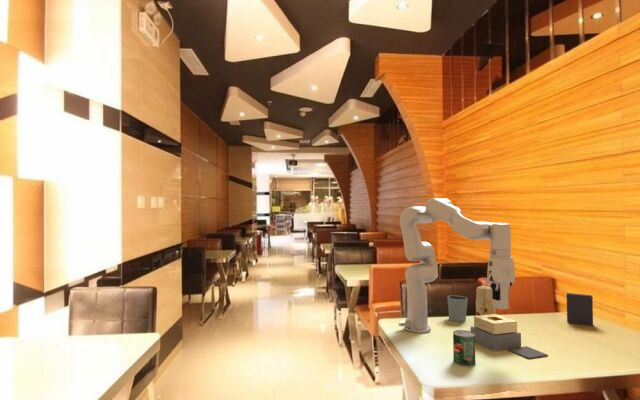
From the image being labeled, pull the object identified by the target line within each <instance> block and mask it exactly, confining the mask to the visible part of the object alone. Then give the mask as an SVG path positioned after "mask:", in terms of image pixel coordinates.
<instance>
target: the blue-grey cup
mask: <svg viewBox="0 0 640 400" xmlns="http://www.w3.org/2000/svg"><path fill="white" fill-rule="evenodd" d="M468 300H469V299H468V297H467V296H463V295H454V294H452V295H448V296H447V308H448V309H447V311H448V320H449V321H452V322H456V323H465V322H466V321H467V310H468V309H467V308H468Z"/></svg>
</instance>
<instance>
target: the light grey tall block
mask: <svg viewBox="0 0 640 400" xmlns="http://www.w3.org/2000/svg"><path fill="white" fill-rule="evenodd" d="M495 285H496V283H495ZM498 290H499V301H497V300H494V299H493V307H494V308H495V309H498V310H509V308H510V307H509V303H510V302H509V299H510V293H509V294H508V283H499V288H498Z"/></svg>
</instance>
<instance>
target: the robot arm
mask: <svg viewBox="0 0 640 400" xmlns="http://www.w3.org/2000/svg"><path fill="white" fill-rule="evenodd" d="M439 220H440V221H441V222H444V223H445V224H448V225H449V226H450V228H451V229H452V230H453V231H454V232H456V233H457V234H459V235H461V236H463V237H464V238H466V239H469V240H470V241H471V240H472V241H484V240H485V241H486V240H489V241H490V242H489V243H490V244H489V247H490V248H489V249H490V250H489V251H488V254H489V256H488V257H489V258H488V262H487V263H488V264H487V271H486V274H487V275H486V276H487V278H486V280H485V284H487V285H488V286H489V287H491V289H492V299H494V300H497V301H499V290H498V288H499V283H508V294H509V295H510V290H511V287H512V285H513V284H514V283H516V274H515V273H516V271H515V270H516V269H515V261H514V258H513V257H512V246H511V245H512V240H511V239H512V236H511V235H512V230H511V229H512V227H511V225H510V223H507V222H504V223H503V222H489V221H473V220H472V219H468V218H467V217H465V216H463V212H462V209H460V208H459V207H458V206H454V204H453V202H452V201H451V200H449V199H448V198H443V197H442V198H439V197H433V198H430V199H428V200H427V201H426V202H425V205H424V206H409V207H406V208H405V209H403V211H402V212H401V214H400V217H399V227H400V230H401V234H402V240H403V246H404V247H403V248H404V253H405V257H406V259H407V260H408V261H409V262H419V263H416V264H415V263H413V264H411V265H409V266H407V268H406V269H405V273H404V277H405V282H406V291H407V293H406V295H407V297H406V298H407V302H406V303H407V304H406V305H407V306H406V307H407V308H406V309H407V311H406V312H407V313H406V314H407V318H405V320H404V321H399V322H398V326H399V327H404V328H403V329H404V330H405V331H407V332H411V333H416V334H418V333H419V334H425V333H429V332H431V330H432V327H431V326H430V325H428V290H427V287H426V285H425V284H426V283H431V282H433V281H435V280H436V279H437V277H438V265H437V260H436V259H437V258H436V253H435V249H434V246H433V245H432V244H431V243H430V242H428V241H422V238H421V233H420V231H419V228H418V227H417V225H418V224H419V225H420V224H425V225H427V224H430V223H434V222H437V221H439ZM495 283H496V285H495Z"/></svg>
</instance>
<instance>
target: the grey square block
mask: <svg viewBox="0 0 640 400" xmlns="http://www.w3.org/2000/svg"><path fill="white" fill-rule="evenodd" d="M470 332H473V333H474V334H475V344H479V346H482V347H485V348H487V349H489V350H491V351H493V352H497V351H498V352H499V351H503V350H504V351H505V350H508V349H510V348H518V347H522V332H519V331H517V332H512V333H504V334H495V335H494V334H492V333H489V332H487V331H484V330H482V329H479V328H477V327H475V326H474V325H471V326H470Z"/></svg>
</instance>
